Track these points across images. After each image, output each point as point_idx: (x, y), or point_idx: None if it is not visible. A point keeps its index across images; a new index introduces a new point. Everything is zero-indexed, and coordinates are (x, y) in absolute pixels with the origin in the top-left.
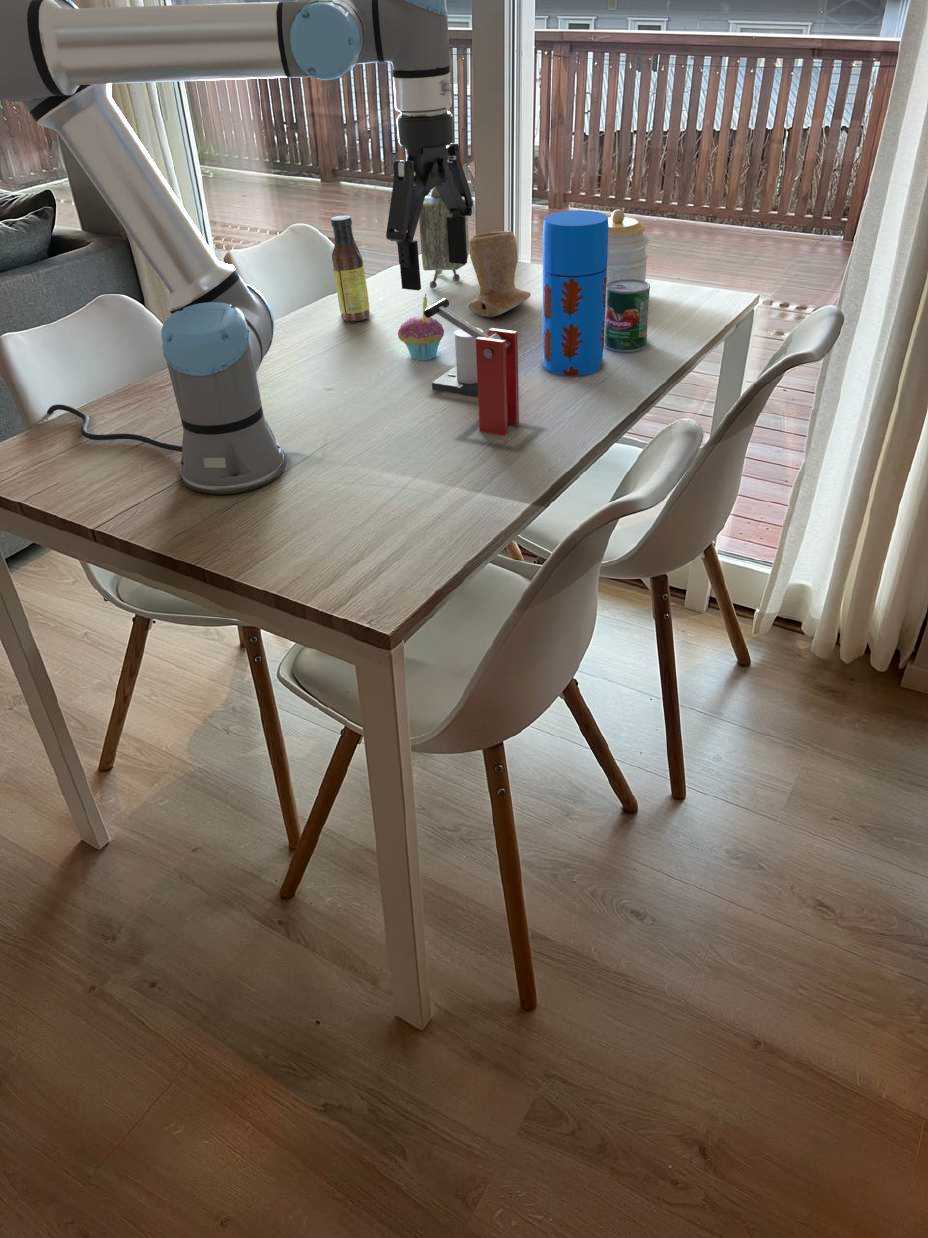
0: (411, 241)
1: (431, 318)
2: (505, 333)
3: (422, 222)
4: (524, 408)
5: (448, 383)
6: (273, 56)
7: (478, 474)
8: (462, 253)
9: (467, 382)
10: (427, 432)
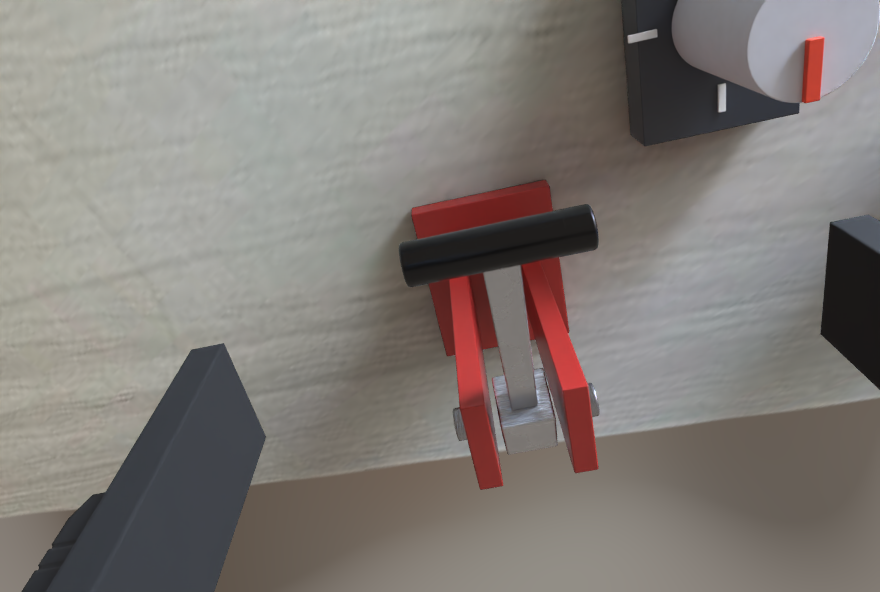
0: None
1: None
2: (569, 442)
3: None
4: (661, 222)
5: None
6: None
7: (305, 351)
8: (863, 360)
9: (674, 42)
10: (390, 105)
